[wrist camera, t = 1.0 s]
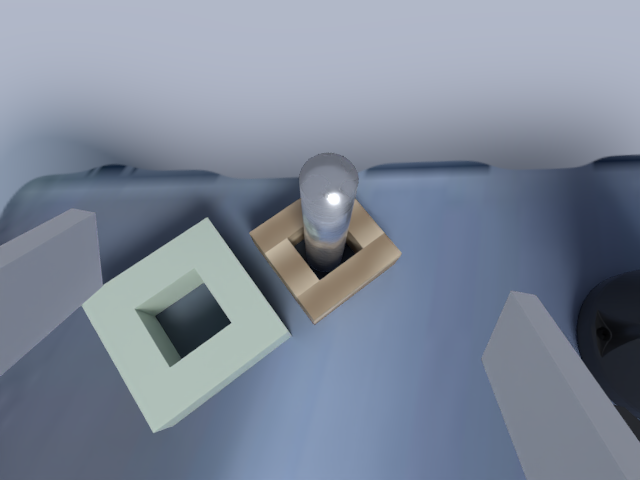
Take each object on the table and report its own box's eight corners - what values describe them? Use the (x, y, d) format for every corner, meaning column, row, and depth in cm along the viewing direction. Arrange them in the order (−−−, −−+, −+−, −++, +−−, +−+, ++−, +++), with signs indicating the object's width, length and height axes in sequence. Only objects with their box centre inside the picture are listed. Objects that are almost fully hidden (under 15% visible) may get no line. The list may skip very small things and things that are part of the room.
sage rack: (291, 335, 41) (288, 331, 36) (173, 425, 38) (153, 433, 33) (219, 233, 44) (207, 217, 40) (106, 308, 42) (79, 300, 37)
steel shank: (349, 257, 44) (370, 184, 27) (320, 279, 43) (323, 217, 26) (327, 230, 45) (334, 142, 28) (299, 250, 44) (287, 173, 27)
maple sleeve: (394, 263, 43) (402, 253, 40) (314, 325, 41) (313, 320, 37) (333, 190, 46) (334, 174, 42) (255, 244, 44) (249, 232, 40)
